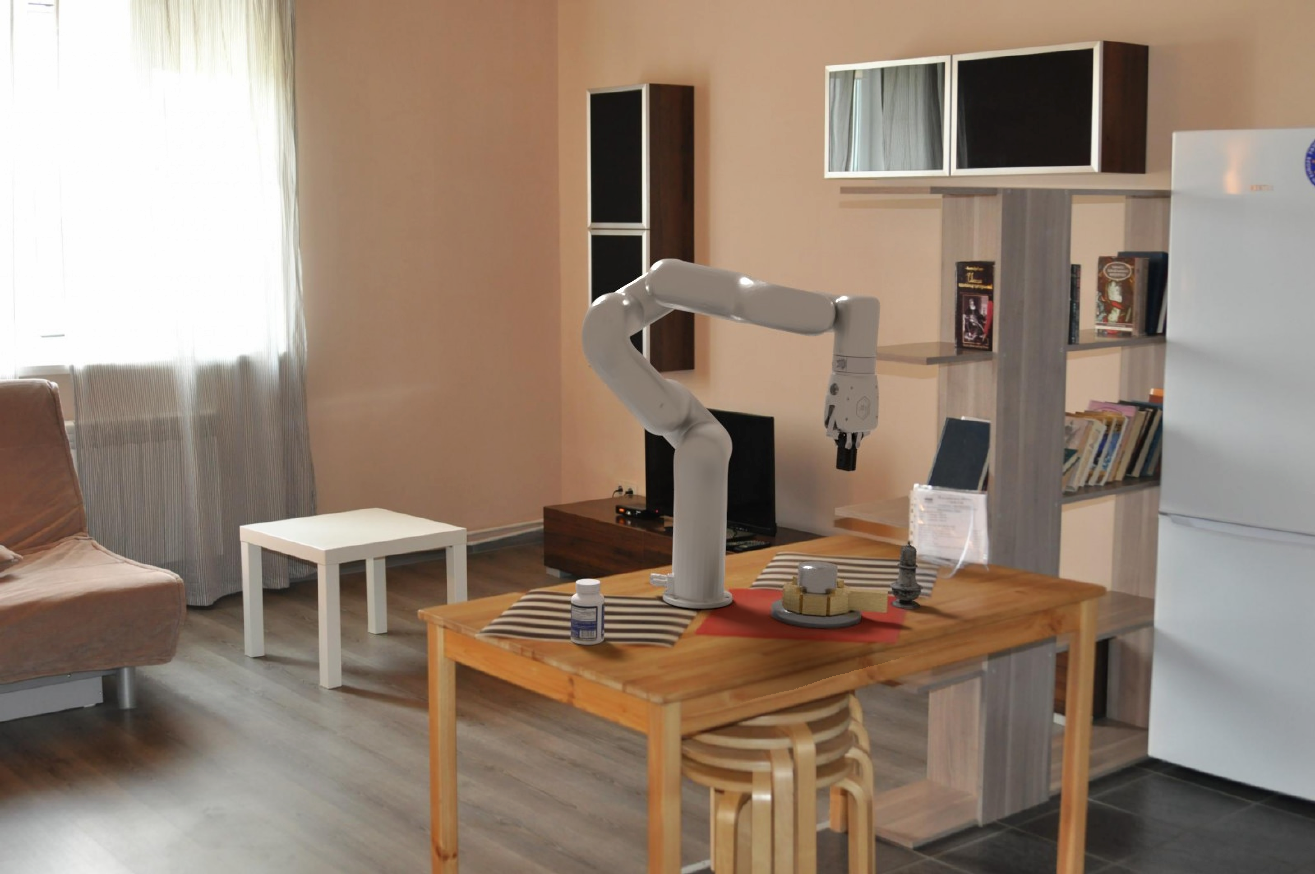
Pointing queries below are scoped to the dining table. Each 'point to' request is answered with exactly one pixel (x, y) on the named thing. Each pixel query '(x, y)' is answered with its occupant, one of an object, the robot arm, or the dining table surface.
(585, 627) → the pill bottle
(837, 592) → the ring nut
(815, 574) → the spindle base
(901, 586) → the salt shaker
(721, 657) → the dining table surface
